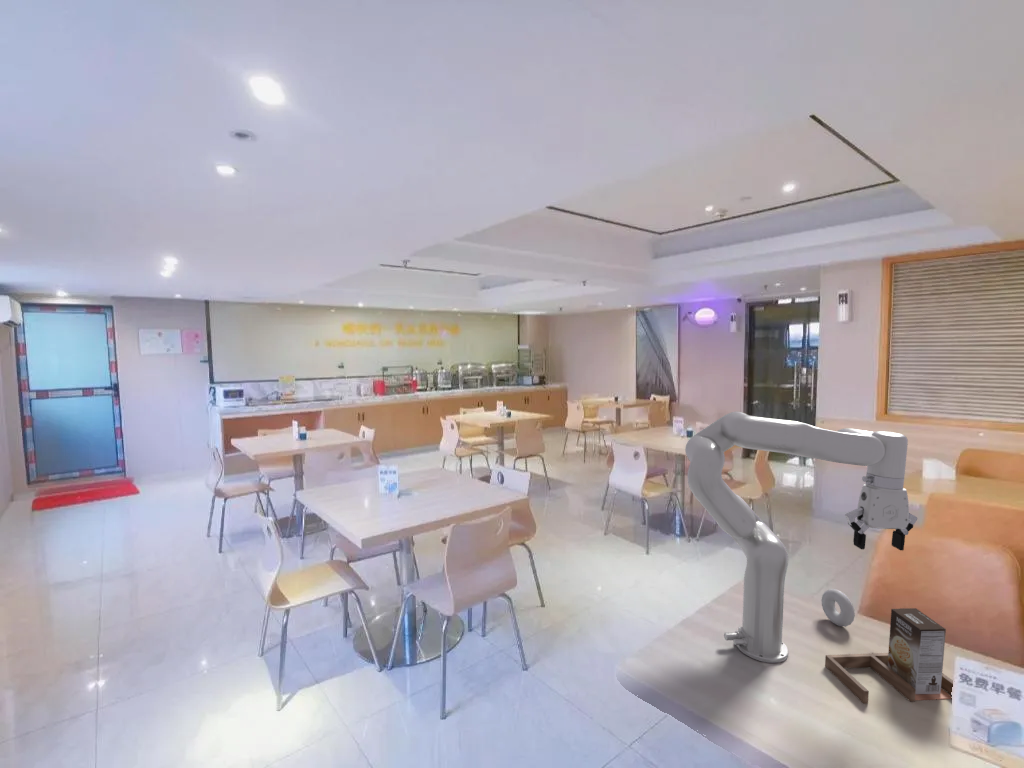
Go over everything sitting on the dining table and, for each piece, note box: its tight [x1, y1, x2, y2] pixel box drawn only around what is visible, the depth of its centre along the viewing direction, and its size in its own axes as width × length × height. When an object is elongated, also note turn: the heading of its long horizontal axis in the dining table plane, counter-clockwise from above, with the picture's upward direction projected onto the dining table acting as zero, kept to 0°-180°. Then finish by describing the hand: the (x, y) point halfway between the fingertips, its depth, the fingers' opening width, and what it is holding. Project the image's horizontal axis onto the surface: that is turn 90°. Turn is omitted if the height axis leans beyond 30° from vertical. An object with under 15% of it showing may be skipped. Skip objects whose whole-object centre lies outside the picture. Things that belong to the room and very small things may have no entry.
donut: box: [821, 588, 856, 627], centre depth 143 cm, size 10×4×10 cm, turn 12°
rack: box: [824, 652, 954, 705], centre depth 119 cm, size 23×13×3 cm, turn 93°
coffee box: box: [887, 607, 947, 694], centre depth 118 cm, size 9×6×16 cm
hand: (878, 547), depth 125 cm, fingers open, 9 cm apart
